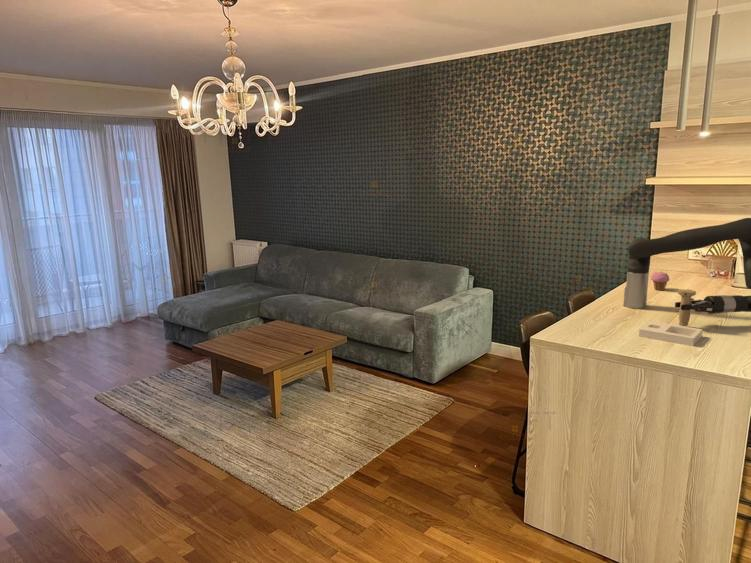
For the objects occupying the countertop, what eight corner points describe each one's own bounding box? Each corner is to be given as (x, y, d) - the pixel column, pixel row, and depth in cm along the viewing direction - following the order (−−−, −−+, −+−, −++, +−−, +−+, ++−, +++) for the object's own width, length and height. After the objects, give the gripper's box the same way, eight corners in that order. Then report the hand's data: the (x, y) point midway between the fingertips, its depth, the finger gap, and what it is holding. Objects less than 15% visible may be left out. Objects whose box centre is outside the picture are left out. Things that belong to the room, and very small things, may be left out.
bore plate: (638, 336, 203) (639, 329, 203) (649, 327, 213) (650, 320, 212) (692, 346, 190) (693, 338, 190) (701, 336, 200) (702, 329, 199)
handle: (675, 322, 216) (678, 288, 212) (693, 325, 212) (696, 290, 208) (673, 325, 212) (676, 291, 209) (691, 328, 208) (694, 293, 205)
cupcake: (668, 292, 269) (669, 273, 267) (649, 290, 274) (651, 272, 271) (668, 288, 276) (670, 270, 274) (650, 287, 281) (652, 269, 279)
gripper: (709, 291, 216) (669, 293, 216) (732, 300, 202) (689, 301, 202) (707, 308, 218) (667, 310, 218) (730, 317, 204) (687, 319, 204)
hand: (678, 306), depth 210 cm, fingers closed on handle, 3 cm apart
